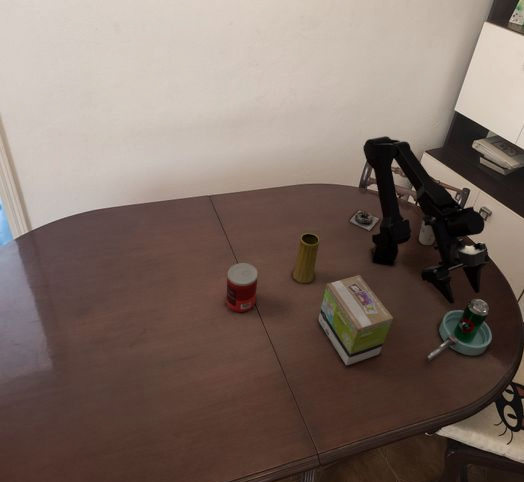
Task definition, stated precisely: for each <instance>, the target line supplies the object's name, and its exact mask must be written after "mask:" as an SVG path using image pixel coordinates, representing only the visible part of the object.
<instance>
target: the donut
mask: <svg viewBox="0 0 524 482" xmlns="http://www.w3.org/2000/svg"><path fill="white" fill-rule="evenodd" d="M379 220H380V218H379V217H377V216H374V215H372V214H371V213H370V212H366V211H362V210H358V211H357V212H356V213H354V215H353V216H352V217H351V219H350V221H349V223H352V224H353V225H356V226H358V227H360V228H362V229H365V230H367V231H371V230H372V228H373V227H374V226H375V225H376V224H377V223H378V221H379Z"/></svg>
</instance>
